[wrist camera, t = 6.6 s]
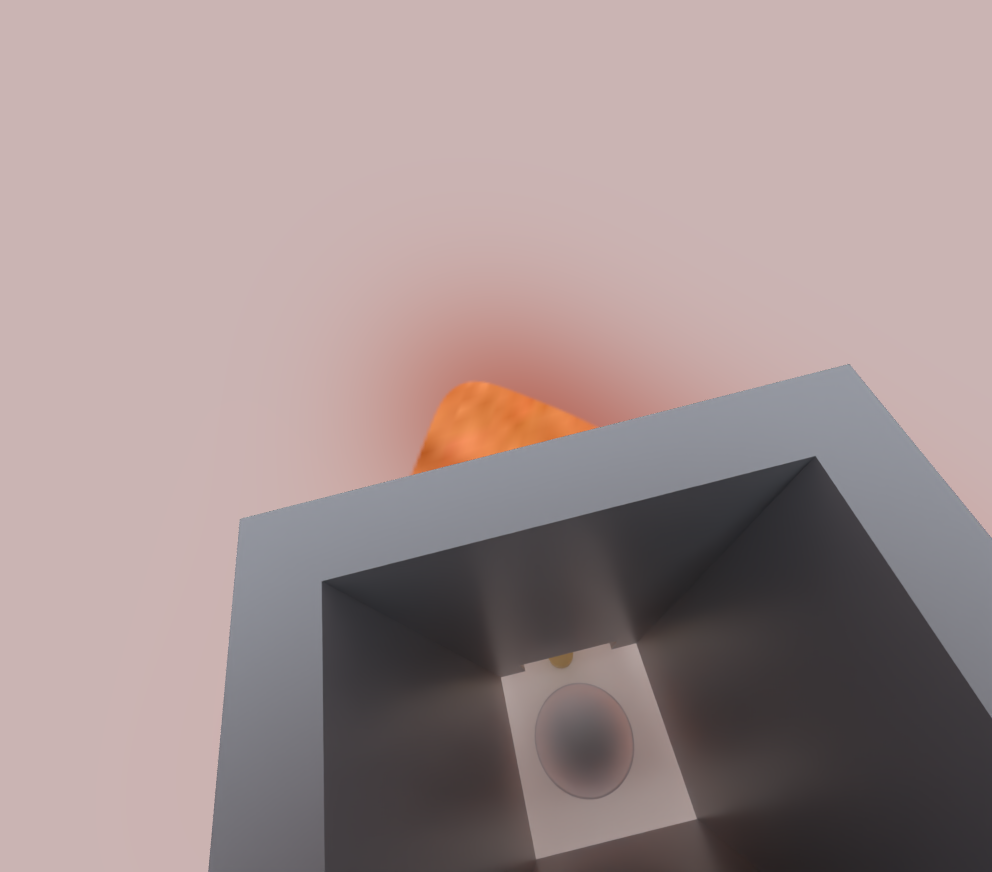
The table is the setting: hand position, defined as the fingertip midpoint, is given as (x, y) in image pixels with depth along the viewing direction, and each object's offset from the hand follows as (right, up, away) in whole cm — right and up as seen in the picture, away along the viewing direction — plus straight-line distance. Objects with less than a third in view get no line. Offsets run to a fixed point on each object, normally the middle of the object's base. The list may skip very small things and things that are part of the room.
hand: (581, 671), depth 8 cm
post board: (+2, -11, +8) cm, 14 cm away
